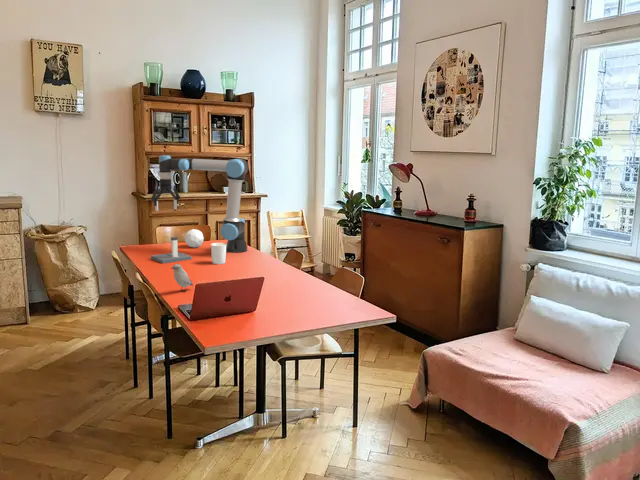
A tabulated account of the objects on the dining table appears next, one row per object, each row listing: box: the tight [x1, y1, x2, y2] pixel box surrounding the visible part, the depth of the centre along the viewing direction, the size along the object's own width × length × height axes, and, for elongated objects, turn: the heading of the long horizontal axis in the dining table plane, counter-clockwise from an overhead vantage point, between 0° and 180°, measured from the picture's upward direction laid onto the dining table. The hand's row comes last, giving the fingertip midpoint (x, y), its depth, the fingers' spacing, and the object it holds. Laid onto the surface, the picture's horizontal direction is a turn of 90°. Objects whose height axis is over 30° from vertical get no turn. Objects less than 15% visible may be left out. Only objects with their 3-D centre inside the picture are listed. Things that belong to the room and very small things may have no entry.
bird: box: [171, 263, 194, 293], centre depth 274 cm, size 5×14×15 cm, turn 142°
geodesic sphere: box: [184, 228, 205, 249], centre depth 385 cm, size 14×14×14 cm
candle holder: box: [210, 242, 227, 265], centre depth 339 cm, size 10×10×12 cm
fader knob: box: [170, 236, 179, 258], centre depth 341 cm, size 3×3×13 cm
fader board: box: [150, 251, 193, 264], centre depth 346 cm, size 20×17×2 cm
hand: (166, 210), depth 364 cm, fingers open, 13 cm apart
